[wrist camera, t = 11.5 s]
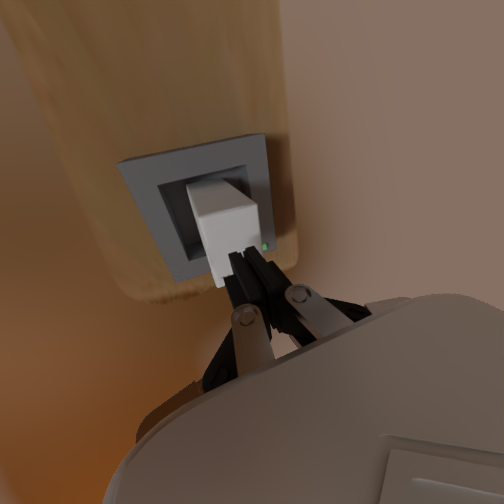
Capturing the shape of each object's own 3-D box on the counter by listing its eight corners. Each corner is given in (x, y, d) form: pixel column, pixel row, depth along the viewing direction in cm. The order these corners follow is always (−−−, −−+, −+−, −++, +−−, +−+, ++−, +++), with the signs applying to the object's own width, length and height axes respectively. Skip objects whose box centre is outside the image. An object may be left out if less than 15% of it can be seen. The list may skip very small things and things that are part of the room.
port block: (126, 158, 19) (114, 164, 15) (249, 133, 22) (266, 133, 18) (175, 263, 26) (176, 285, 22) (263, 235, 29) (278, 250, 25)
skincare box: (230, 223, 26) (266, 274, 16) (198, 231, 25) (216, 291, 15) (221, 174, 23) (259, 202, 13) (184, 181, 22) (194, 218, 12)
